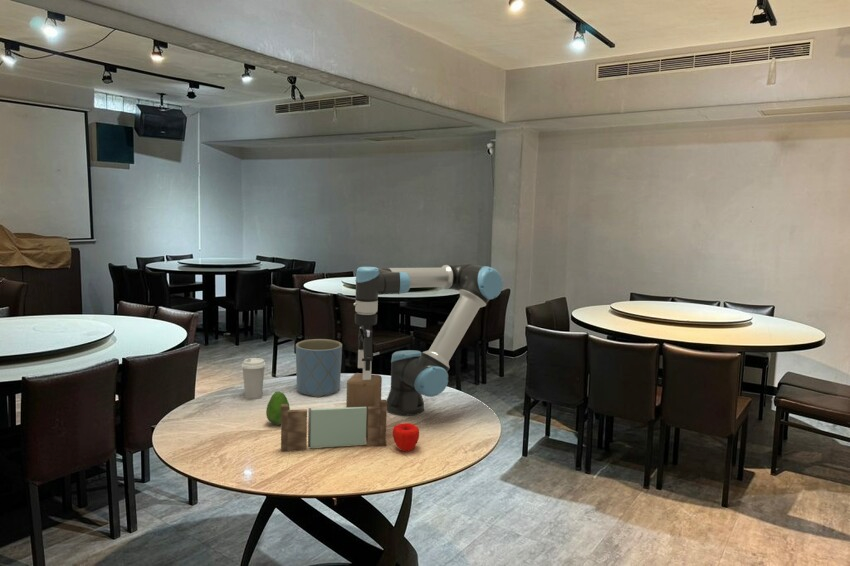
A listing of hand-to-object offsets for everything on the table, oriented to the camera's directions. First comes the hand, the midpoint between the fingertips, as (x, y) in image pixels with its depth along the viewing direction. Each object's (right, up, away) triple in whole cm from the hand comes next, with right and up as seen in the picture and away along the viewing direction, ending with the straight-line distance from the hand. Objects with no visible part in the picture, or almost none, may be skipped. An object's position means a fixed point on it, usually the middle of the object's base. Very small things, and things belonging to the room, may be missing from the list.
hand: (364, 373), depth 198 cm
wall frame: (-8, -23, -9) cm, 26 cm away
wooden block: (-1, -21, +3) cm, 22 cm away
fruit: (-32, -19, +8) cm, 38 cm away
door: (-8, -22, -9) cm, 25 cm away
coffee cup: (-48, -15, +34) cm, 61 cm away
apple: (+14, -24, -9) cm, 29 cm away
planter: (-24, -15, +45) cm, 53 cm away
